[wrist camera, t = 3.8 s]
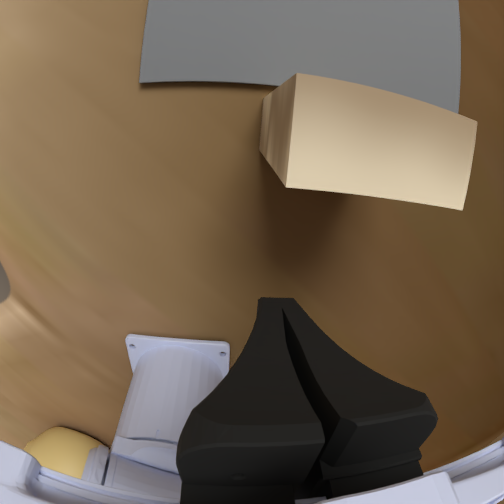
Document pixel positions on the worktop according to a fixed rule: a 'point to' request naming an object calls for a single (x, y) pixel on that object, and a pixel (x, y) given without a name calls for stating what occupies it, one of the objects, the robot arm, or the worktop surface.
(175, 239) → the worktop surface
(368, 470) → the robot arm
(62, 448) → the beige lumpy ball
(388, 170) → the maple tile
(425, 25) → the mat
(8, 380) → the worktop surface
